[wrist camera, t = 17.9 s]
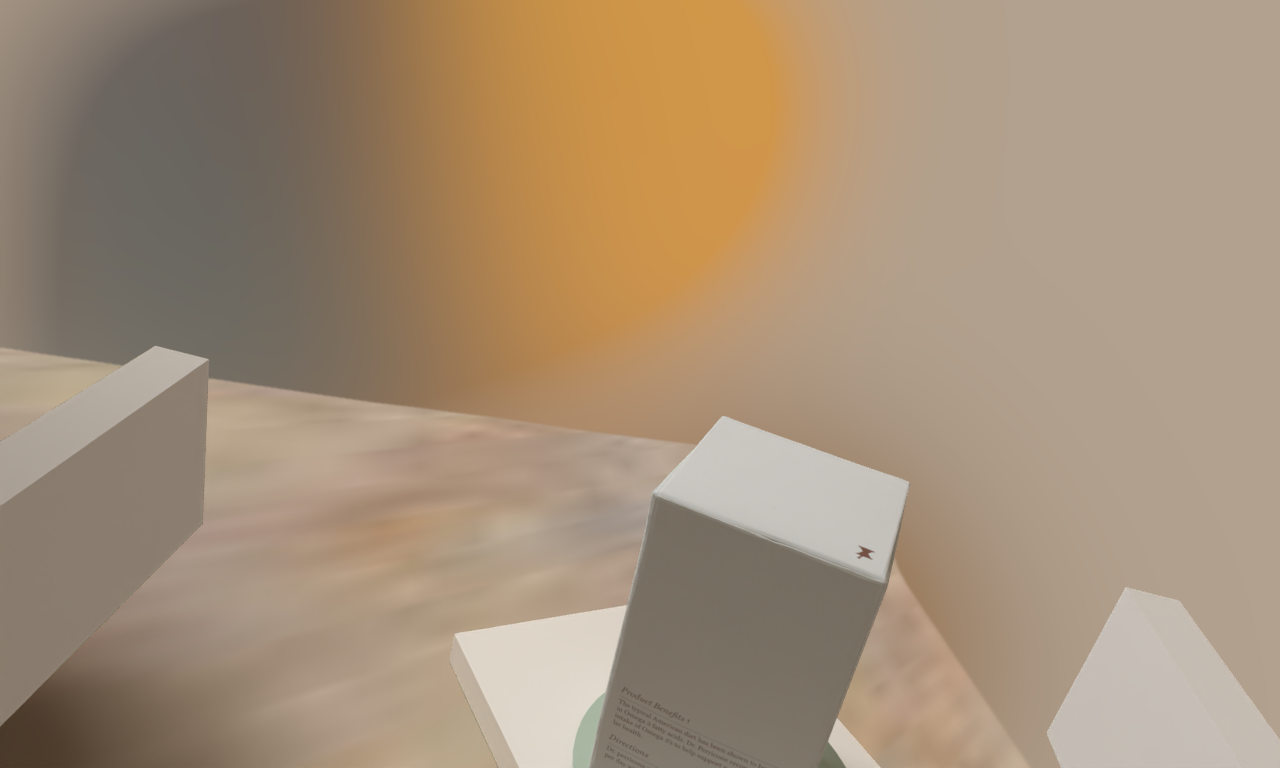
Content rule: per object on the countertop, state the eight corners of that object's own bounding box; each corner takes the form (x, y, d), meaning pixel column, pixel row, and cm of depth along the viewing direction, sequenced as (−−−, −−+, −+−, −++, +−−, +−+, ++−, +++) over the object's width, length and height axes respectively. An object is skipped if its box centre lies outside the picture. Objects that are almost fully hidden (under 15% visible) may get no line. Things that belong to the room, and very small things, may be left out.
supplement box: (816, 751, 37) (921, 481, 32) (770, 897, 30) (892, 585, 25) (649, 674, 39) (723, 409, 34) (572, 795, 32) (649, 487, 28)
